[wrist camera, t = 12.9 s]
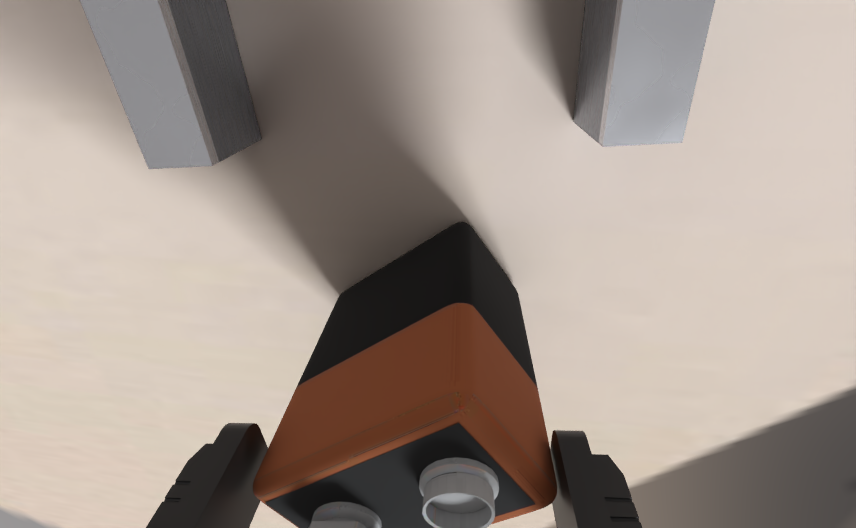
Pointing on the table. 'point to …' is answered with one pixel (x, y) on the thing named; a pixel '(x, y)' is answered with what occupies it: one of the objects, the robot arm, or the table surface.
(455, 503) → the battery
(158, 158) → the housing
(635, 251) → the table surface
